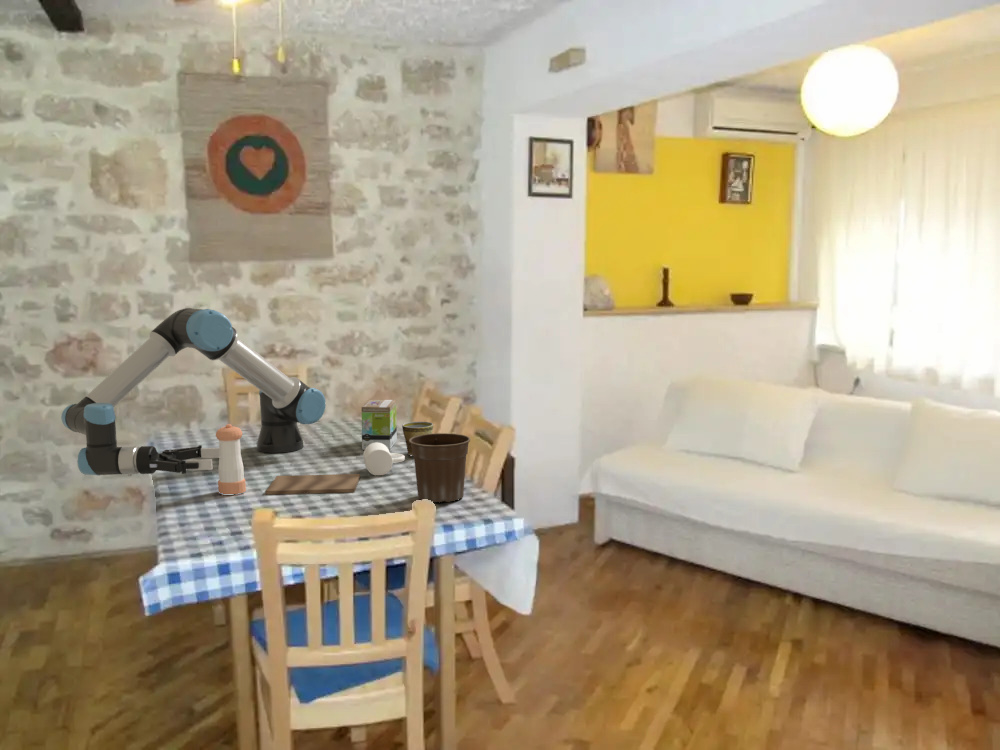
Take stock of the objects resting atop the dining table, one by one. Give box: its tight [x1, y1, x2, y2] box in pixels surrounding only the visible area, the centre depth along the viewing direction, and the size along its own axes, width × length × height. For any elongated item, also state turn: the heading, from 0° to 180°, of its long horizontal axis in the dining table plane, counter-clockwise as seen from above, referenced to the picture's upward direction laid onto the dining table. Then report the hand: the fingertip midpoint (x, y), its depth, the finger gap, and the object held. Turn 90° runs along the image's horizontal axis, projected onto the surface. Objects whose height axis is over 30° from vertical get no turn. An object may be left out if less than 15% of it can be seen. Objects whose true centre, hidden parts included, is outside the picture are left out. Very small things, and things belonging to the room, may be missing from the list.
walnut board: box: [265, 473, 361, 495], centre depth 250 cm, size 24×16×1 cm, turn 93°
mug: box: [362, 442, 406, 476], centre depth 265 cm, size 12×10×8 cm
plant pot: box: [409, 432, 471, 504], centre depth 236 cm, size 16×16×16 cm
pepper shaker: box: [215, 423, 247, 494], centre depth 243 cm, size 7×7×19 cm
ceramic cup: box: [401, 421, 434, 456], centre depth 287 cm, size 13×10×10 cm
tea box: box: [361, 399, 398, 451], centre depth 299 cm, size 15×10×15 cm, turn 179°
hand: (218, 458), depth 242 cm, fingers open, 13 cm apart
